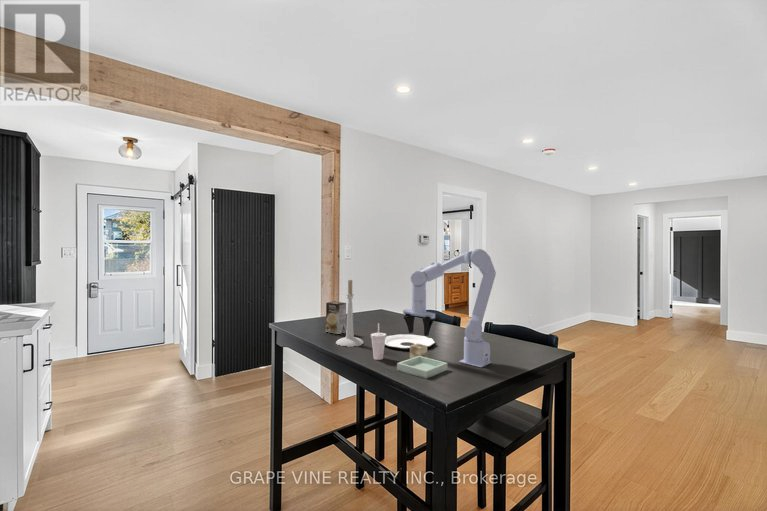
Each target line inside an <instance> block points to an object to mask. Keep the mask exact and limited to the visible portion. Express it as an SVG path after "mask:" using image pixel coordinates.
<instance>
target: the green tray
mask: <svg viewBox="0 0 767 511" xmlns="http://www.w3.org/2000/svg"><path fill="white" fill-rule="evenodd" d="M448 364H449V363H448V362H445V361H441V360H437V359H433V358H429V357H427V358H426V357H422V356H417V357H414V358H409V359H406V360H402V361H399V362H397V363H396V371H399V372H403V373H404V374H405V373H406V374H408V375H412V376H415V377H419V378H421V379H426V380H427V379H429V378H432V377H435V376H437V375H439V374H442V373H443V372H447V371H448Z"/></svg>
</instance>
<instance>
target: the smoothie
mask: <svg viewBox="0 0 767 511" xmlns="http://www.w3.org/2000/svg"><path fill="white" fill-rule="evenodd" d="M386 336H387V333H385V332H380V322H379V323H377V332H373V333H371V334H370V339H371V347H372V354H373V359H374V360H375V361H381V360H383V359H384V354H385V346H386V345H385V339H386Z"/></svg>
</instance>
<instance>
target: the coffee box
mask: <svg viewBox="0 0 767 511" xmlns="http://www.w3.org/2000/svg"><path fill="white" fill-rule="evenodd" d="M325 305H326V306H325V333H326V332H330V333H335V334H341V333H344V334H346V333H345V332H346V328H347V302H341V301H328V302H326V303H325ZM330 333H329V334H330ZM335 334H334V335H335ZM341 335H342V334H341Z"/></svg>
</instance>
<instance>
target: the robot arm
mask: <svg viewBox="0 0 767 511" xmlns="http://www.w3.org/2000/svg"><path fill="white" fill-rule="evenodd" d="M462 264H469V265H470V264H473V265H474V266H476V268H477V269H478V270H479V271H480V273H481V275H482V278H481V280H480V281H481V282H480V284H479V288H478V290H477V291H478V292H477V294H476V300H475V302H474V305H473V310H472V313H471V317H470V320H469V321H468V322H467V323H466V326H465V329H464V332H463V333H464V337H463V359H460V360H459V363H462V364H466V365H470V366H474V367H478V368H483V367H486V366H488V365H489V364H491V363H492V361H491V345H490V343H489V342H487V341H485V340H484V337H482V332H483V326H482V324H483V320H484V317H485V313H486V310H487V306H488V303H489V299H490V296H491V292H492V289H493V286H494V281H495V278H496V275H497V274H496V273H497V271H496V270H495V266H494V264H493V261H492V259H491V256H490V255H489V254H488V253H487V252H486V250H484V249H482V248H476V249H474V250H473V251H472V250H471V251H466V252H463V253H461V254H459V255H457V256H455V257H452V258H451V259H448V260H447V261H445V262H442V263H439V262H432V263H430V265H429V266H427V267H422V268H420V269H419V270H416V271H414V272H413V273H412V274H411V276H410V281H411V283H412V284H411V287H412V288H411V309H403V310H402V315H404V316H403V319H404V322H405V324H406V326H407V331H408V334H412V333H414V330H415V329H414V325H415V319H416V317H421V318H422V323H423V334H424V335H423V336H425V337H428V336H430V335H429V334H430V331H431V327H432V325H433V323H434V321H435V319H436V313H435V312H430V311H427V288H426V287H427V284H426V283H427V282H432V281H434V280H435V279H436V280H437V279H438V278H440V277H443V275H444V274H445V271H447V270H450V269H453V268H455V267H458V266H460V265H462Z"/></svg>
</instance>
